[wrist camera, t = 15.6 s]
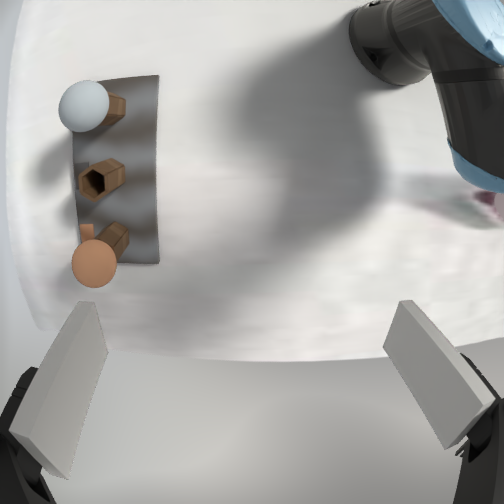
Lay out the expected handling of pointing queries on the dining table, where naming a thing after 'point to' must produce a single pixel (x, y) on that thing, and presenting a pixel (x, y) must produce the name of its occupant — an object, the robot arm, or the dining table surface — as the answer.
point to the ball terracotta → (94, 263)
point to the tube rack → (121, 172)
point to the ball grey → (83, 106)
